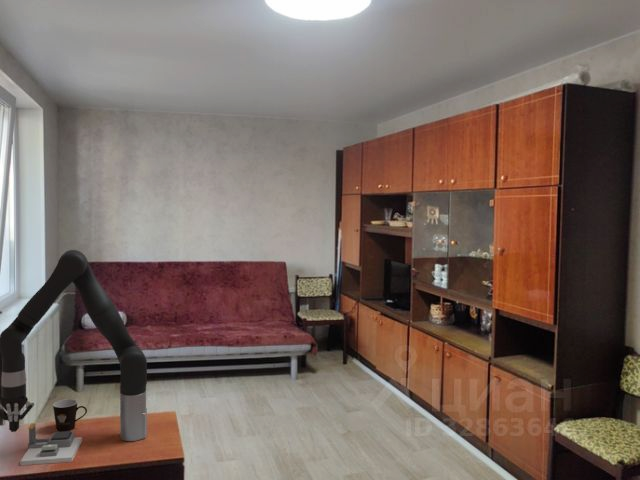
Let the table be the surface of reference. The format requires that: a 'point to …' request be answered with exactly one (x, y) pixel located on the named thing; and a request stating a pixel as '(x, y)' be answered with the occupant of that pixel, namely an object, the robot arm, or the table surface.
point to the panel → (52, 451)
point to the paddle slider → (32, 434)
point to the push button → (61, 435)
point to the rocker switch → (49, 447)
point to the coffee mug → (66, 414)
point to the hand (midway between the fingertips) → (14, 430)
